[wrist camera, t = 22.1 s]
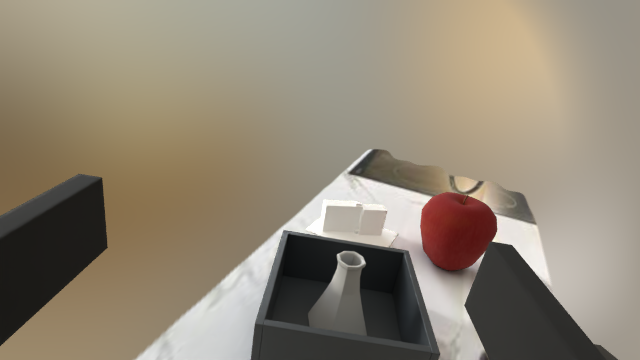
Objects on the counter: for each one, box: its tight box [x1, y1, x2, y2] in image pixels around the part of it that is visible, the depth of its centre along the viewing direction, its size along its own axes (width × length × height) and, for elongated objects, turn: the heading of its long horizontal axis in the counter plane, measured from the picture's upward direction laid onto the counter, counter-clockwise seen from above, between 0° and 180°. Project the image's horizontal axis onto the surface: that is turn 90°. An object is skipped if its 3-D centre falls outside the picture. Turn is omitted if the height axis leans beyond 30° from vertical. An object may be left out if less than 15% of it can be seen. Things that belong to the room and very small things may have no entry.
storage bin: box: [251, 230, 440, 360], centre depth 43 cm, size 18×18×8 cm
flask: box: [308, 251, 367, 336], centre depth 42 cm, size 7×7×10 cm
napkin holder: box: [305, 200, 398, 247], centre depth 67 cm, size 15×11×6 cm
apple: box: [420, 192, 497, 271], centre depth 61 cm, size 12×12×13 cm
